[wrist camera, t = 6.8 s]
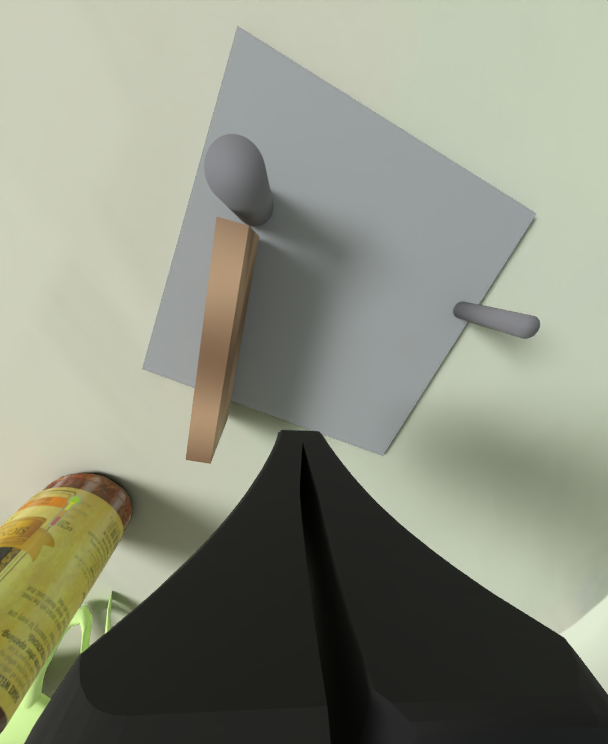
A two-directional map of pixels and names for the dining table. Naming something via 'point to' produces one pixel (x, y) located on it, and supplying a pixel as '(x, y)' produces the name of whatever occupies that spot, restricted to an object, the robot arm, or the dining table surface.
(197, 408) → the board
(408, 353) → the gate frame
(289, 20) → the dining table surface
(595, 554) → the dining table surface
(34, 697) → the figurine
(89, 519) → the sauce bottle
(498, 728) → the robot arm
